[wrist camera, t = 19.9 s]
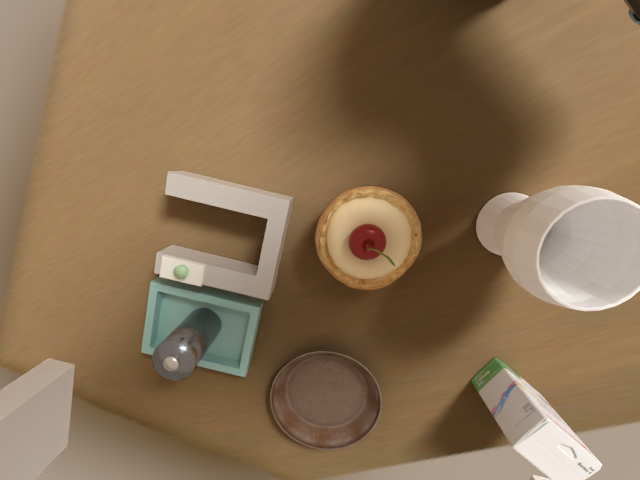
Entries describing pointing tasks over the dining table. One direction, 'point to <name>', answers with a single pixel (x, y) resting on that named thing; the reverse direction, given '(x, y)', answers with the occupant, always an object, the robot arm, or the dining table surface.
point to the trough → (233, 309)
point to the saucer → (326, 400)
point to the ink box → (533, 425)
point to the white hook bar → (220, 269)
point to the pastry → (368, 237)
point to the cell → (186, 344)
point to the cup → (567, 244)
